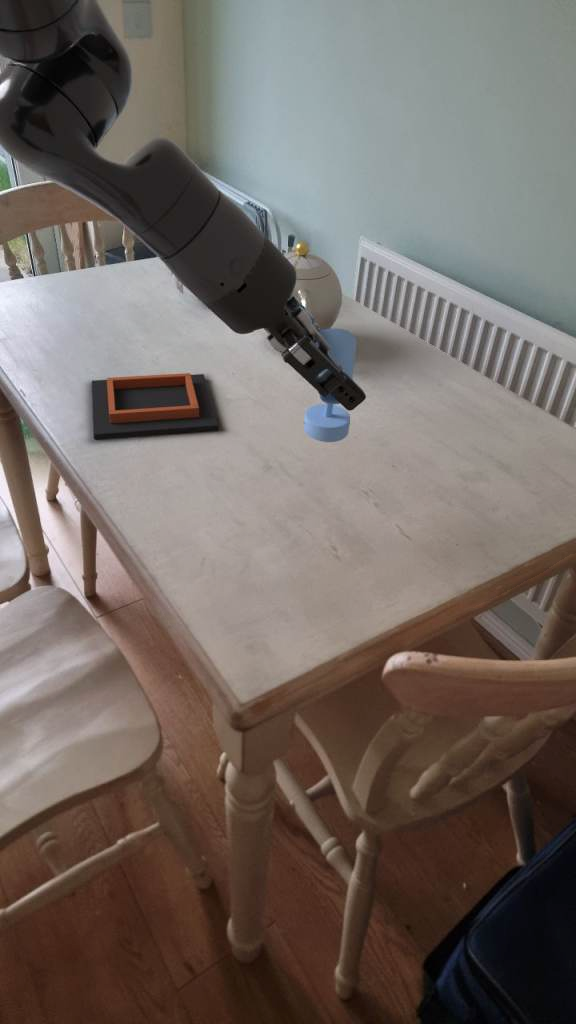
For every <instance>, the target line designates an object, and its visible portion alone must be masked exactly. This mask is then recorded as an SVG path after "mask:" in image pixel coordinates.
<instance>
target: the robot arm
mask: <svg viewBox="0 0 576 1024" xmlns="http://www.w3.org/2000/svg"><path fill="white" fill-rule="evenodd" d="M0 56H1V57H3V58H4V59H7V60H10V61H9V62H8V64H7V65H6V66H5V68H4V69H3V70H2V71H1V73H0V147H1V148H2V149H3V150H4V151H5V152H6V153H7V154H8V155H9V156H10V157H11V158H12V159H13V160H15V162H17V163H18V164H20V165H21V166H23V167H25V168H26V169H28V170H29V171H31V172H32V173H34V174H36V175H38V176H40V177H42V178H43V179H46V180H48V181H50V182H52V183H53V184H55V185H58V186H59V187H62V188H63V189H65V190H67V191H69V192H71V193H73V194H75V195H77V196H79V197H80V198H82V200H85V201H87V202H88V203H90V204H92V205H93V206H95V207H97V208H98V209H99V210H101V211H103V212H104V213H106V214H107V215H109V216H111V217H112V218H113V219H115V220H116V221H117V222H119V223H120V224H121V225H123V226H124V227H125V228H126V229H127V230H128V231H129V232H130V233H131V234H133V236H135V237H136V238H137V239H138V240H139V241H140V242H141V243H143V245H145V246H146V247H147V248H148V250H150V251H151V252H152V253H153V254H154V255H155V256H157V257H158V258H159V260H160V261H161V262H162V263H163V264H164V265H165V266H166V267H167V268H168V269H169V272H170V271H171V272H172V275H173V274H174V276H175V277H176V278H177V279H178V280H179V281H180V282H181V283H182V284H183V287H185V289H187V290H188V292H190V293H191V294H193V296H194V297H195V298H197V299H198V300H199V301H200V302H201V303H202V304H203V305H204V306H205V307H206V308H208V309H209V310H210V311H211V312H212V314H214V315H215V316H216V317H217V318H218V319H219V320H220V321H222V322H223V323H224V324H225V325H226V326H227V327H228V328H229V329H230V330H231V331H232V332H234V333H235V334H239V335H248V334H252V333H254V332H255V331H257V330H262V329H264V330H265V332H266V333H267V334H269V335H267V336H266V339H267V340H268V343H269V342H270V343H271V344H272V345H273V346H274V347H275V348H274V347H273V346H272V345H271V344H270V343H269V344H270V345H271V346H272V347H273V348H274V349H275V350H276V351H278V352H281V351H282V353H280V354H281V355H280V356H281V357H282V360H283V362H285V364H288V365H289V366H290V367H291V368H292V369H293V370H294V371H295V372H296V373H298V374H299V375H300V376H301V377H302V378H303V379H304V380H305V381H306V382H307V383H308V384H309V385H311V387H313V388H314V389H315V390H316V391H317V393H318V395H319V394H320V395H323V396H324V397H326V396H327V395H329V393H330V394H331V395H332V396H333V397H334V398H335V399H336V400H337V401H338V402H339V404H340V405H341V406H342V408H344V409H345V410H346V411H354V410H355V409H356V408H357V407H358V406H359V405H360V404H362V403H363V402H364V401H365V400H366V398H367V394H366V393H365V391H364V390H363V389H362V388H361V387H360V386H359V385H358V384H357V382H356V381H355V380H354V379H353V380H352V379H351V378H350V377H349V376H348V375H347V374H346V373H345V372H344V370H343V369H344V368H343V367H342V366H341V365H339V364H338V363H337V362H336V361H335V359H334V358H333V357H332V356H331V355H330V353H329V351H330V345H329V344H328V342H327V341H326V340H325V339H324V338H323V336H322V335H321V334H320V333H319V332H318V331H321V330H320V328H319V327H320V326H319V325H318V324H317V323H315V319H314V317H313V316H312V315H311V313H310V312H309V311H308V310H307V309H306V308H305V307H304V306H303V304H302V303H301V302H300V300H299V299H298V298H297V297H296V296H295V295H294V294H293V295H291V294H292V292H293V290H294V287H295V284H296V270H295V268H294V266H293V265H292V264H291V263H290V262H289V261H288V259H287V258H286V257H285V256H284V255H283V254H284V253H282V251H280V249H279V248H278V247H277V248H278V249H277V248H276V246H275V245H274V244H275V243H274V242H273V241H271V240H270V238H268V237H267V235H266V234H265V233H264V232H263V231H262V230H261V229H260V228H259V226H257V225H256V223H255V222H254V221H253V220H252V219H251V218H250V216H248V215H247V214H246V212H244V211H243V210H242V208H240V207H239V205H237V204H236V203H235V202H234V201H232V200H231V199H230V198H229V197H227V196H226V195H225V194H224V193H223V192H222V191H221V190H220V189H219V188H218V187H217V186H216V185H215V184H214V182H213V181H212V180H211V179H209V177H208V176H207V175H206V174H205V172H203V170H202V169H200V167H199V166H198V165H197V164H196V163H195V162H194V161H193V160H192V159H191V158H190V156H188V155H187V154H186V152H185V151H184V150H183V149H182V148H181V147H180V146H179V145H177V144H176V143H175V142H174V141H173V140H171V139H169V138H166V137H155V138H153V139H150V140H149V141H147V142H145V144H142V145H141V146H140V147H139V148H138V149H136V150H135V151H134V152H133V153H132V154H131V155H130V156H129V157H128V158H126V159H125V160H124V161H123V162H122V163H118V162H114V161H111V160H109V159H107V158H105V157H103V156H102V155H101V154H100V153H98V152H97V151H96V150H97V148H98V146H99V145H100V144H101V143H102V141H103V139H104V138H105V136H106V135H107V134H108V132H109V131H110V129H111V128H112V127H113V125H114V124H115V122H116V121H117V120H118V118H119V117H120V115H121V114H122V113H123V111H124V110H125V108H126V107H127V104H128V102H129V100H130V97H131V94H132V90H133V89H132V88H133V77H134V75H133V64H132V60H131V58H130V54H129V52H128V51H127V48H126V47H125V45H124V44H123V42H122V40H121V39H120V37H119V35H118V34H117V33H116V31H115V30H114V28H113V26H112V24H111V23H110V21H109V20H108V18H107V16H106V14H105V12H104V10H103V8H102V6H101V5H100V2H99V1H98V0H0ZM272 242H273V243H274V244H273V243H272ZM316 342H318V344H319V348H317V347H316V346H315V345H314V344H315V343H316ZM325 369H328V370H327V371H326V372H325V373H324V374H323V375H322V376H321V377H320V376H319V374H320V373H321V372H322V371H324V370H325Z"/></svg>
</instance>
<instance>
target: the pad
mask: <svg viewBox="0 0 576 1024" xmlns="http://www.w3.org/2000/svg"><path fill="white" fill-rule="evenodd" d="M91 401H92V403H91V404H92V432H93V440H103V439H105V440H106V439H117V438H130V437H144V436H157V435H170V434H184V433H195V432H209V431H219V424H218V420H217V417H216V413H215V410H214V406H213V402H212V398H211V395H210V392H209V388H208V385H207V381H206V378H205V374H204V373H198V374H191V373H190V372H185V373H169V374H168V373H167V374H148V375H134V376H133V375H132V376H131V375H130V376H117V377H107V378H106V379H98V380H97V379H95V380H91Z"/></svg>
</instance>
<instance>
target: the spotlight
mask: <svg viewBox="0 0 576 1024" xmlns="http://www.w3.org/2000/svg"><path fill="white" fill-rule="evenodd" d="M318 332H319V333H320V334H321V335H322V336H323V338H324V339H325V340H326V341H327V342H328V344H329V345H330V351H329V353H330V355H331V356H332V357H333V358H334V359H335V361H336V362H337V363H338V364H339V365H341V366H342V367H343V368H344V369H343V370H344V372H345V373H346V374H347V375H348V376H349V377H350V378H351V379H352V380H353V381H354V378H353V377H354V369H355V358H356V350H357V339H356V337H355V335H354V334H353V333H351V332H350V331H348V330H345V329H342V328H334V327H333V328H332V327H331V328H330V329H324V330H321V331H318ZM314 345H315V346H316V347H317V348H319V344H318V342H316V343H315V344H314ZM327 370H328V369H325V370H324V371H322V372H321V373H320V374H319V376H320V377H321V376H322V375H323V374H324V373H325V372H326V371H327ZM318 396H319V399H320V400H321V401H322V402H323V403H319V404H315V405H314V404H313V405H311V406H310V407H309V408H307V409H306V411H305V413H304V421H303V431H304V432H305V434H306V435H307V436H308V437H309V438H310V439H313V440H315V441H319V442H322V443H323V442H324V443H336V442H340V441H342V440H344V439H345V438H347V437H348V435H349V432H350V431H349V430H350V425H351V415H350V413H349V412H348V410H347V409H346V408H344V407H341V406H339V404H340V403H339V402H338V401H337V400H336V399H335V398H334V397H333V396H332V395H331V394H330V393H329V395H327V396H326V397H324V396H323V395H320V394H319V393H318Z"/></svg>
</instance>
